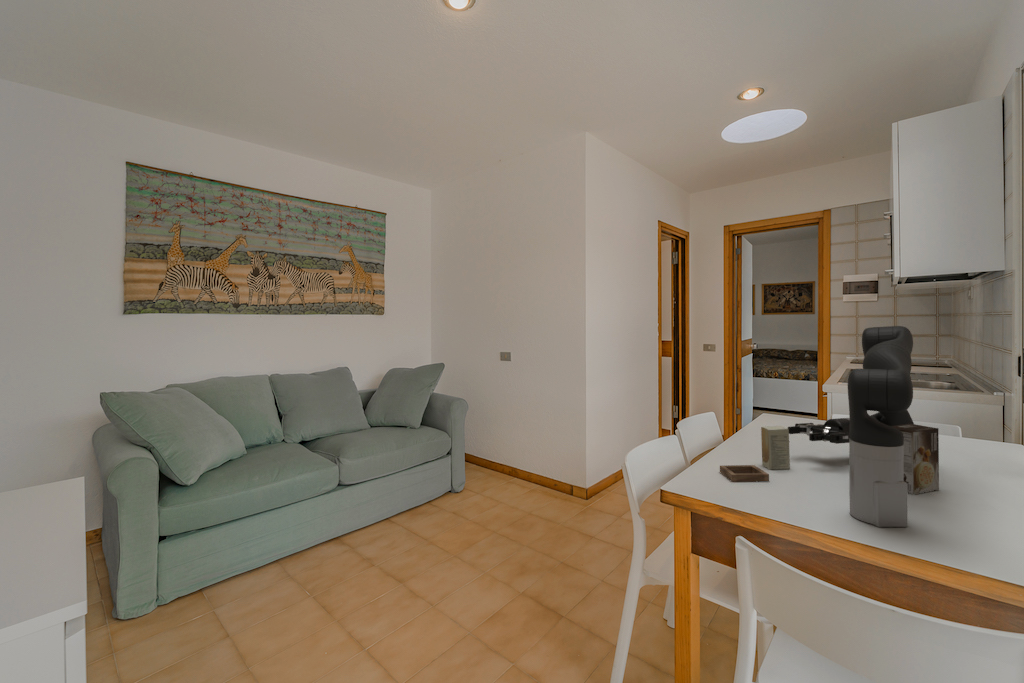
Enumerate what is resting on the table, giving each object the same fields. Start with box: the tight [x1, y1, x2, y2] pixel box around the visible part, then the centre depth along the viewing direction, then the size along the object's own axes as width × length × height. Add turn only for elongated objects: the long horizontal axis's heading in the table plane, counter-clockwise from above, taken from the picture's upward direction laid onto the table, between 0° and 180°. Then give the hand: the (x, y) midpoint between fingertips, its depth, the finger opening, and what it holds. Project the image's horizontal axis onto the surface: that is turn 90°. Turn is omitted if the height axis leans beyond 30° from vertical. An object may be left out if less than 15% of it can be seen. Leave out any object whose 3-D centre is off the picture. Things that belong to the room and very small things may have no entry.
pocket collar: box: [719, 464, 770, 483], centre depth 124 cm, size 8×10×2 cm
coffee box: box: [891, 423, 940, 495], centre depth 112 cm, size 9×6×16 cm
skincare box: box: [760, 425, 791, 470], centre depth 131 cm, size 6×4×12 cm
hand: (798, 433), depth 132 cm, fingers open, 8 cm apart
